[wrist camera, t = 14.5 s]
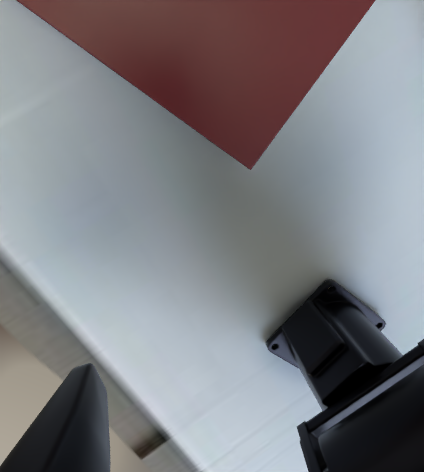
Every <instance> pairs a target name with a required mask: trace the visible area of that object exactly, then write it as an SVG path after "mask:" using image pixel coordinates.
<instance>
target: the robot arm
mask: <svg viewBox="0 0 424 472" xmlns="http://www.w3.org/2000/svg"><path fill="white" fill-rule="evenodd" d="M331 286H332V287H331ZM329 287H331V288H330V289H329ZM385 324H386V323H385V321H384V320H383V319H382V318H381V317H380V316H379V315H377V314H376V313H375V312H374V311H372V310H371V309H370V308H368V307H367V306H366V305H365V304H363V303H362V302H361V301H359V300H358V299H357V298H355V297H354V296H353V295H352V294H350V293H349V292H348V291H346V290H345V289H344V288H343V287H341V286H340V285H339V284H337V283H336V282H335V281H333V280H327V281H325V282H324V283H323V284H322V285H321V286H320V287H319V288H318V289H317V290H316V291H315V292H314V293H313V294H312V295H311V296H310V297H309V298H308V299H307V300H306V301H305V303H304V304H303V305H302V306H301V307H300V308H299V309H298V310H297V311H296V312H295V313H294V314H293V315H292V316H291V317H290V318H289V319H288V320H287V321H286V322H285V323H284V324H283V325H282V326H281V327H280V328H279V329H278V330H277V331H276V332H275V333H274V334H273V335H272V336H271V337H270V338H269V339H268V341H267V343H266V345H267V348H268V350H269V351H270V352H272V353H273V354H275V355H277V356H278V357H280V358H282V359H284V360H285V361H287V362H289V363H290V364H292V365H294V366H296V367H297V368H299V369H300V370H301V372H302V374H303V376H304V377H305V379H306V381H307V383H308V385H309V387H310V388H311V390H312V392H313V394H314V396H315V398H316V399H317V401H318V403H319V405H320V407H321V408H322V410H323V411H322V412H320V413H319V414H318V415H316V416H315V417H313V418H312V419H310V420H309V421H307V422H305V421H304V422H303V423H301V424H300V425H298V426H297V429H298V432H299V436H300V439H301V440H300V444H301V448H302V451H303V454H304V458H305V461H306V465H307V468H308V471H309V472H424V339H423V340H422V341H420V342H419V343H418V346H416V347H415V348H413V349H412V350H411V351H409V352H408V353H406V354H405V355H402V354H401V353H400V352H399V351H398V350H397V348H396V347H395V346H394V345H393V344H392V343H391V342H390V341H389V340H388V339H387V338H386V337H385V336H384V335H383V334H382V332H381V330H382V329H383V328H384V327H385ZM274 344H275V345H274ZM272 345H274V346H272ZM0 472H110V441H109V420H108V400H107V392H106V388H105V386H104V384H103V382H102V380H101V378H100V376H99V374H98V372H97V370H96V368H95V366H94V365H93V364H91V363H88V364H85V365H81V366H78V367H75V368H74V369H72V371H71V372H70V373H69V375H68V376H67V377H66V379H65V380H64V381H63V383H62V384H61V385H60V387H59V388H58V389H57V391H56V392H55V393H54V395H53V396H52V397H51V399H50V400H49V401H48V403H47V404H46V406H45V407H44V408H43V410H42V411H41V412H40V413H39V415H38V416H37V418H36V419H35V420H34V422H33V423H32V424H31V425H30V427H29V428H28V429H27V431H26V432H25V433H24V435H23V436H22V438H21V439H20V440H19V442H18V443H17V444H16V446H15V447H14V448H13V450H12V451H11V452H10V454H9V455H8V456H7V458H6V459H5V460H4V462H3V463H2V465H1V466H0Z"/></svg>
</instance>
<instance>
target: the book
mask: <svg viewBox="0 0 424 472" xmlns="http://www.w3.org/2000/svg"><path fill="white" fill-rule="evenodd" d="M17 1H18V2H19V3H21V4H22V5H23V6H25V7H26V8H28V9H29V10H30V11H32V12H33V13H35V14H36V15H37V16H39V17H40V18H41V19H43V20H44V21H46V22H47V23H48V24H50V25H51V26H52V27H54V28H55V29H57V30H58V31H59V32H61V33H62V34H63V35H65V36H66V37H68V38H69V39H70V40H72V41H73V42H75V43H76V44H77V45H79V46H80V47H81V48H83V49H84V50H86V51H87V52H88V53H90V54H91V55H92V56H94V57H95V58H97V59H98V60H99V61H101V62H102V63H103V64H105V65H106V66H108V67H109V68H110V69H112V70H113V71H114V72H116V73H117V74H119V75H120V76H121V77H123V78H124V79H126V80H127V81H128V82H130V83H131V84H132V85H134V86H135V87H137V88H138V89H139V90H141V91H142V92H143V93H145V94H146V95H148V96H149V97H150V98H152V99H153V100H154V101H156V102H157V103H159V104H160V105H161V106H163V107H164V108H166V109H167V110H168V111H170V112H171V113H172V114H174V115H175V116H177V117H178V118H179V119H181V120H182V121H183V122H185V123H186V124H188V125H189V126H190V127H192V128H193V129H194V130H196V131H197V132H199V133H200V134H201V135H203V136H204V137H206V138H207V139H208V140H210V141H211V142H212V143H214V144H215V145H217V146H218V147H219V148H221V149H222V150H223V151H225V152H226V153H228V154H229V155H230V156H232V157H233V158H234V159H236V160H237V161H239V162H240V163H241V164H243V165H244V166H246V167H247V168H248V169H250V170H251V169H252V167H253V166H254V165H255V163H256V162H257V161H258V159H259V158H260V157H261V155H262V154H263V153H264V151H265V150H266V148H267V147H268V146H269V144H270V143H271V142H272V140H273V139H274V138H275V136H276V135H277V133H278V132H279V131H280V129H281V128H282V127H283V125H284V124H285V123H286V121H287V120H288V119H289V117H290V116H291V114H292V113H293V112H294V110H295V109H296V108H297V106H298V105H299V104H300V102H301V101H302V99H303V98H304V97H305V95H306V94H307V93H308V91H309V90H310V89H311V87H312V86H313V85H314V83H315V82H316V80H317V79H318V78H319V76H320V75H321V74H322V72H323V71H324V70H325V68H326V67H327V65H328V64H329V63H330V61H331V60H332V59H333V57H334V56H335V55H336V53H337V52H338V51H339V49H340V48H341V46H342V45H343V44H344V42H345V41H346V40H347V38H348V37H349V36H350V34H351V33H352V31H353V30H354V29H355V27H356V26H357V25H358V23H359V22H360V21H361V19H362V18H363V17H364V15H365V14H366V12H367V11H368V10H369V8H370V7H371V6H372V4H373V3H374V2H375V0H17Z"/></svg>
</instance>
